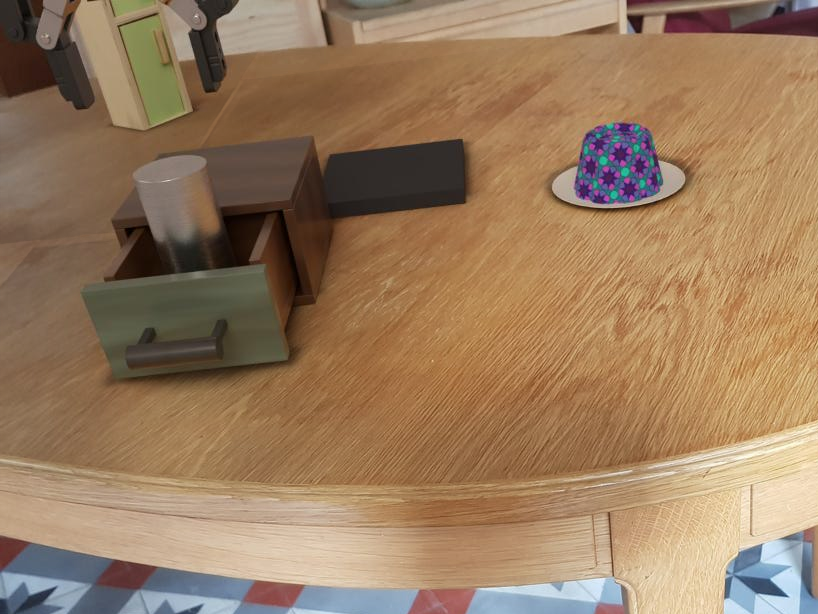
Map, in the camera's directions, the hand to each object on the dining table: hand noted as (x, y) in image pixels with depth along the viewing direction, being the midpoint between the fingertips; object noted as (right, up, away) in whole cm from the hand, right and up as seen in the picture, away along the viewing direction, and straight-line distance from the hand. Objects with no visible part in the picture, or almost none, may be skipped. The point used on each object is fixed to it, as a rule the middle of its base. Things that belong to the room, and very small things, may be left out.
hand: (149, 98), depth 62 cm
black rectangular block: (+13, +4, +32) cm, 35 cm away
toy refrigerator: (-19, +20, +58) cm, 65 cm away
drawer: (+2, -14, +9) cm, 17 cm away
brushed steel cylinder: (+2, -12, +9) cm, 16 cm away
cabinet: (+2, -7, +19) cm, 21 cm away
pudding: (+34, +2, +25) cm, 42 cm away
